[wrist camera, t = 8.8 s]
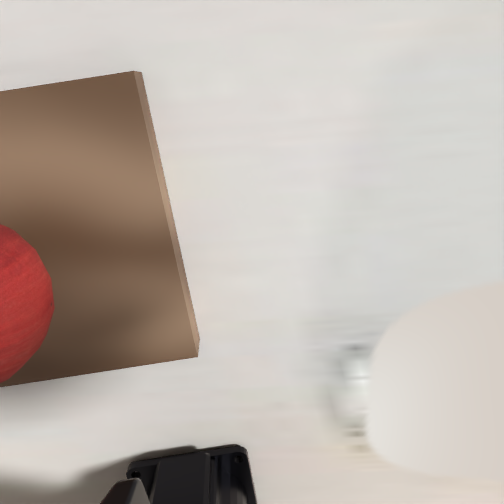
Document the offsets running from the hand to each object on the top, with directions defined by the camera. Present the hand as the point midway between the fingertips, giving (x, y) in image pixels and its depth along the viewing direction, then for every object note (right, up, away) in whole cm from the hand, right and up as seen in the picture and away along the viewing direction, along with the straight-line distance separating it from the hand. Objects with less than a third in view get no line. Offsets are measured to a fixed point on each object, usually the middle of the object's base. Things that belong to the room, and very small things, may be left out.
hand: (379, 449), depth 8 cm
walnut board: (-13, +4, +11) cm, 17 cm away
